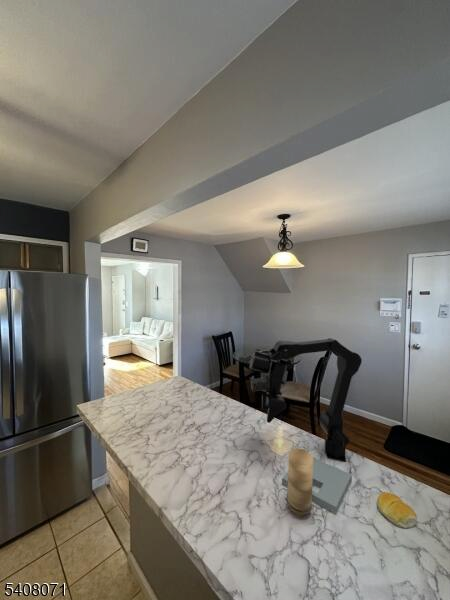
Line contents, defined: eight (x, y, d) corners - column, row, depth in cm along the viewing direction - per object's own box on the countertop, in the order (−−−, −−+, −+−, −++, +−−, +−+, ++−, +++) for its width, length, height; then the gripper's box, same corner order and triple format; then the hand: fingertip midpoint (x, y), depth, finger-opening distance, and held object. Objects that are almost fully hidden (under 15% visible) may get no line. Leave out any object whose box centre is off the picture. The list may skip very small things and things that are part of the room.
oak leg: (311, 504, 70) (313, 451, 70) (311, 523, 64) (313, 466, 64) (288, 497, 72) (289, 446, 72) (286, 516, 66) (287, 460, 66)
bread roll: (392, 498, 73) (392, 485, 73) (422, 526, 64) (423, 510, 64) (368, 503, 71) (369, 489, 71) (396, 532, 62) (397, 516, 62)
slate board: (303, 458, 90) (303, 453, 90) (351, 480, 79) (351, 474, 79) (281, 484, 77) (282, 478, 77) (335, 514, 67) (336, 507, 67)
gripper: (251, 363, 100) (241, 400, 100) (259, 378, 82) (247, 423, 82) (277, 369, 101) (268, 406, 101) (292, 386, 82) (280, 431, 82)
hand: (265, 416), depth 91 cm, fingers open, 9 cm apart
